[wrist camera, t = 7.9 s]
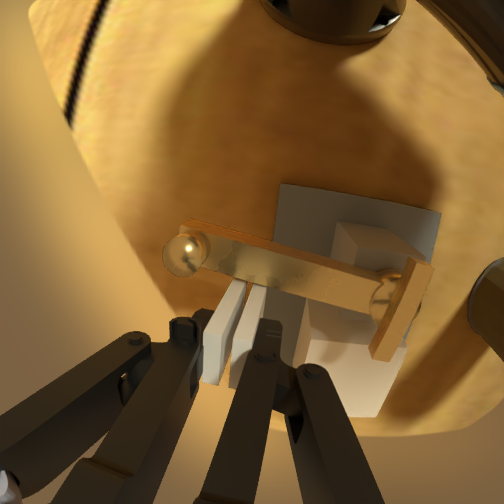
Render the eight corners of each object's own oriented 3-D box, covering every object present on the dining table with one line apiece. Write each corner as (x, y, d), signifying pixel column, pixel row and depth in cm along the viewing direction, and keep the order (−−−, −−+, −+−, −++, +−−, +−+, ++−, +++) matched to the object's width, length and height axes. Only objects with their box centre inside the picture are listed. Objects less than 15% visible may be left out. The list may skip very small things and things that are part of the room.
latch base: (280, 183, 27) (273, 191, 17) (436, 211, 25) (493, 234, 16) (255, 363, 33) (241, 427, 23) (385, 376, 31) (406, 436, 22)
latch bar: (423, 254, 17) (452, 276, 13) (388, 334, 18) (405, 369, 15) (198, 186, 17) (173, 193, 14) (180, 277, 19) (155, 303, 15)
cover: (307, 294, 28) (310, 339, 21) (383, 304, 28) (408, 347, 20) (292, 360, 31) (290, 412, 23) (362, 367, 30) (375, 417, 22)
